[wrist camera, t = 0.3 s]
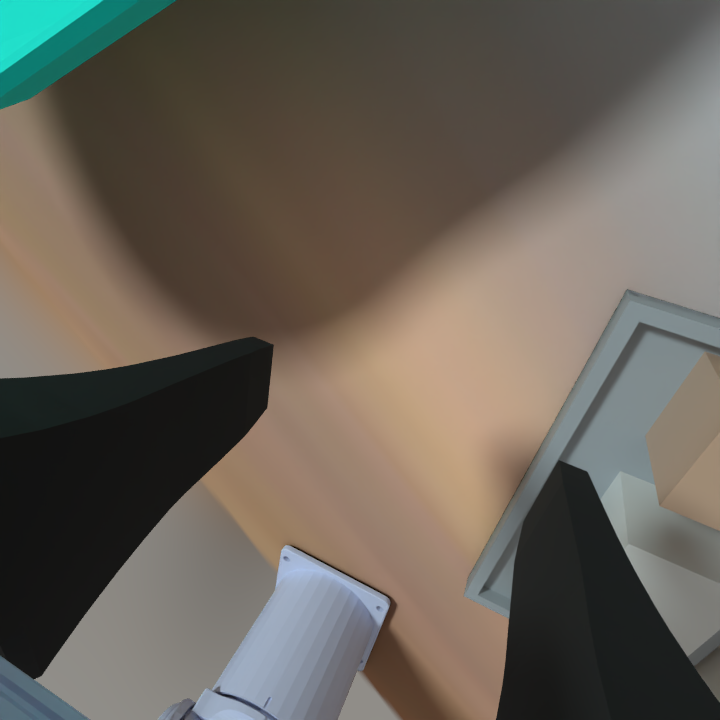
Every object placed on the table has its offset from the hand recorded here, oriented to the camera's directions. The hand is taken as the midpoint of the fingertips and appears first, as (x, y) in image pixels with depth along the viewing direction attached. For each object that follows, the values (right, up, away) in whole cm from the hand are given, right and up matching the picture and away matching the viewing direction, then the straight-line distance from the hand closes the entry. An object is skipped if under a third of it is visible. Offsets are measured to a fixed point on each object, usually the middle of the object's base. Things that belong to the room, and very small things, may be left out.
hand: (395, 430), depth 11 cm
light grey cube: (+11, -5, +9) cm, 15 cm away
